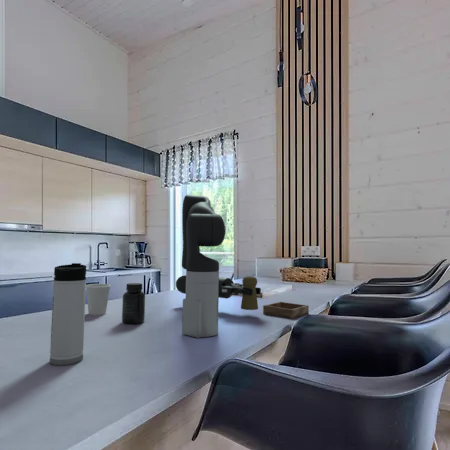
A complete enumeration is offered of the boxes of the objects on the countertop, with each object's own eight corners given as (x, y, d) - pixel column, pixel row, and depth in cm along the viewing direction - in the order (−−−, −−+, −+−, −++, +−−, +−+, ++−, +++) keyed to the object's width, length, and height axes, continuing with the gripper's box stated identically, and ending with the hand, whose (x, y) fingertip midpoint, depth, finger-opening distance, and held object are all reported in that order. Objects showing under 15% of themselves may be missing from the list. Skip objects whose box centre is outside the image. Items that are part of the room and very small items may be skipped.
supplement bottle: (133, 319, 111) (134, 282, 112) (149, 321, 107) (150, 283, 108) (117, 322, 105) (118, 283, 106) (132, 325, 101) (134, 285, 102)
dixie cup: (79, 315, 115) (80, 285, 116) (94, 310, 123) (95, 283, 124) (100, 316, 113) (101, 286, 114) (114, 312, 121) (115, 284, 122)
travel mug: (88, 355, 74) (91, 263, 75) (75, 365, 67) (80, 265, 69) (58, 355, 74) (63, 262, 75) (43, 365, 67) (48, 264, 68)
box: (292, 318, 115) (292, 309, 115) (263, 313, 122) (263, 305, 123) (308, 313, 124) (308, 305, 124) (280, 309, 132) (280, 301, 132)
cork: (258, 307, 120) (258, 276, 121) (258, 310, 114) (258, 277, 115) (241, 306, 121) (241, 275, 122) (240, 309, 115) (240, 276, 116)
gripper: (206, 278, 122) (244, 281, 111) (231, 276, 133) (267, 279, 122) (205, 299, 122) (243, 305, 111) (230, 295, 132) (267, 300, 121)
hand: (256, 291), depth 116 cm, fingers closed on cork, 4 cm apart
